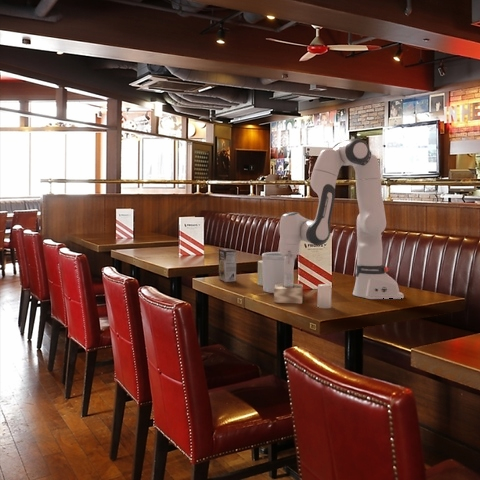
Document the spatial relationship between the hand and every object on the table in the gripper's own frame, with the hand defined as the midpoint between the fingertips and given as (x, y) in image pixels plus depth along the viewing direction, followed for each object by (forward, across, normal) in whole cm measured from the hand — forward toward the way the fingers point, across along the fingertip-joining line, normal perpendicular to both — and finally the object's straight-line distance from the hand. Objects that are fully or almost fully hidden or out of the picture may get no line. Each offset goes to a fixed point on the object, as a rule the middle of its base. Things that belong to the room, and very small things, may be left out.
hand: (288, 281), depth 239 cm
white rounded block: (+8, -11, -15) cm, 20 cm away
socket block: (+8, 0, 0) cm, 8 cm away
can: (+8, +35, +12) cm, 38 cm away
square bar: (+8, 0, 0) cm, 8 cm away
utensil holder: (+8, +20, +6) cm, 22 cm away
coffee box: (+8, +43, +33) cm, 55 cm away
